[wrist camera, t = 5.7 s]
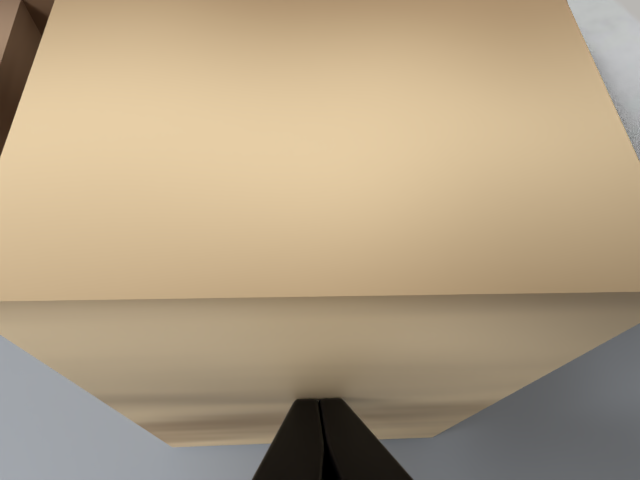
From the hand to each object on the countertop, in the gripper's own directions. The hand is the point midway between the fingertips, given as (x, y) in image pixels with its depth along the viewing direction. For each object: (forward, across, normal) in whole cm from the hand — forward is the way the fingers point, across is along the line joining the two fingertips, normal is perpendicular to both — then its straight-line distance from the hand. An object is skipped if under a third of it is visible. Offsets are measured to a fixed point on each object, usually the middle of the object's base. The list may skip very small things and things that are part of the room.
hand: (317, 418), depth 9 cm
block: (+6, 0, +1) cm, 6 cm away
